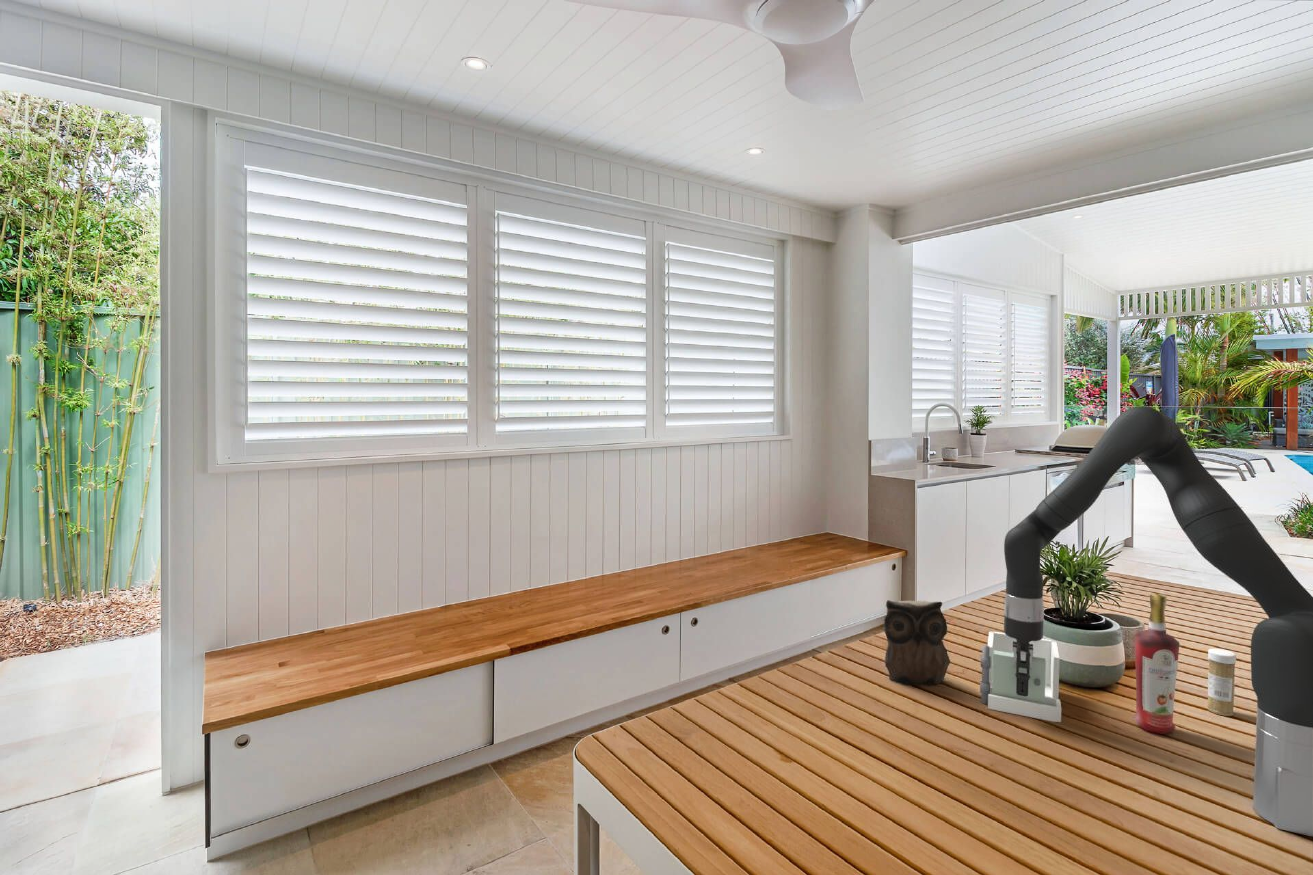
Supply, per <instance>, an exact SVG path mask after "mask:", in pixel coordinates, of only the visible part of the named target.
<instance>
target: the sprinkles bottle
mask: <svg viewBox="0 0 1313 875" xmlns="http://www.w3.org/2000/svg"><path fill="white" fill-rule="evenodd" d="M1207 654H1208V656H1207V658H1208V673H1207V674H1208V675H1207V676H1208V677H1207V705H1206V709H1207V710H1208V711H1209V712H1211V713H1213V714H1215V715H1218V716H1223V717H1224V716H1225V717H1232V716H1234V714H1235V712H1234V707H1235V706H1234V703H1235V702H1234V701H1235V675H1236V674H1235V667H1236V663H1237V654H1235V652H1233V651H1230V650H1226V649H1223V648H1222V649H1221V648H1209V649H1208V652H1207Z"/></svg>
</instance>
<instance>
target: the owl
mask: <svg viewBox="0 0 1313 875" xmlns="http://www.w3.org/2000/svg"><path fill="white" fill-rule="evenodd" d="M942 606H943V602H942V601H928V600H927V601H926V600H910V599H909V600H898V601H897V600H896V601H893V600H890V599H888V600H887V601H886V602H885V607H886V614H885V616H884V619H883V621H884V622H883V626H884V628H883V632H884V634H885V637H886V640H887V647H886V651H885V656H884V657H885V658H884V664H885V667H886V669H887V671H888V677H889V678H888V679H889V680H890V681H891V682H893V683H897V684H901V685H905V686H911V685H915V686H916V687H919V686H927V687H933V686H936V685H938V684H942V683H945V676H946V674H947V670H948V668H949V665H950V663H951V659H950V657H949V653H948V649H947V648H946V646H945V644H944V641H943V639H944V638H945V636H946V635H947V634H948V624H947V620H946V618H945V615H944V614H943V612H942V609H941V608H942Z"/></svg>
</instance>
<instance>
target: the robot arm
mask: <svg viewBox="0 0 1313 875" xmlns="http://www.w3.org/2000/svg"><path fill="white" fill-rule="evenodd" d="M1136 457H1138V459H1140V460H1141V462H1142V463H1143V464H1144V465H1145V466H1146V467H1147V468H1148V470H1150V472H1152V474H1153V476H1155V478H1156V479H1157V481H1159V483H1160V484H1161V486H1162V487H1163V490H1164V491H1165V493H1166V497H1167V500H1168V502H1169V505H1170V507H1171V508H1170V509H1171V511H1172V514H1173V516H1174V517H1175V520H1176V522H1177V524H1178V525H1179V526H1180V529H1181V530H1182V531H1183V533H1184V534H1185V535H1186V537H1187V538H1188V540H1189V541H1190V543H1191V544H1192V546H1194V548H1195V549H1196V551H1197V552H1198V553H1199V554H1200V555H1201V556H1202V557H1203V559H1204V560H1206V561H1207V562H1208V563H1210V565H1212V566H1213V567H1214V568H1216V569H1217V570H1218V571H1220V572H1221V573H1223V574H1224V575H1225V576H1227V577H1228V578H1230V579H1231V580H1232V581H1234V582H1235V583H1236V584H1238V586H1240V587H1242V588H1243V589H1244V590H1245V591H1246V592H1247V593H1249V594H1250V595H1251V597H1252V598H1253V599H1254V600H1255V601H1256V602H1257V603H1258V605H1259V606H1260V607H1261V608H1262V610H1263V611H1264V613H1265V614H1266V616H1267V617H1268V618H1265V619H1263V620H1261V621H1259V623H1258V624H1256V625H1255V627H1254V629H1253V630H1252V631H1253V632H1252V634H1251V635H1252V636H1251V640H1250V673H1251V678H1250V680H1251V686H1252V689H1253V692H1254V694H1255V695H1256V701H1257V702H1256V724H1255V743H1254V744H1255V745H1254V746H1255V748H1254V774H1253V776H1254V777H1253V796H1252V798H1253V800H1252V806H1253V807H1252V808H1253V809H1254V811H1255V813H1256V814H1258V815H1259V816H1260V817H1261V818H1263V819H1264V820H1266V821H1268V822H1269V823H1270V824H1272V825H1274V828H1276V829H1278V830H1282V831H1283V830H1284V831H1287V832H1291V833H1296V834H1301V835H1305V836H1309V837H1313V595H1312V594H1311V593H1310V592H1308V590H1307V589H1306V588H1305V587H1304V586H1303V585H1302V583H1301V582H1300V581H1298V579H1297V578H1296V577H1295V575H1294V574H1293V573H1292V571H1290V569H1289V568H1288V567H1287V566H1286V564H1285V563H1284V562H1283V561H1282V559H1281V558H1280V557H1279V555H1278V554H1277V553H1276V552H1275V551H1274V549H1273V548H1272V546H1270V544H1269V543H1268V542H1267V540H1266V539H1265V538H1264V537H1263V536H1262V534H1261V532H1260V531H1259V529H1258V528H1257V527H1256V526H1255V524H1254V523H1253V521H1252V520H1251V519H1250V517H1248V515H1247V514H1246V513H1245V511H1244V510H1243V509H1242V508H1241V506H1240V505H1239V504H1238V503H1237V502H1236V501H1235V500H1234V498H1233V497H1232V496H1231V495H1230V494H1229V493H1228V491H1227V490H1226V488H1224V487H1223V486H1222V485H1221V483H1220V482H1218V480H1216V478H1215V477H1214V476H1213V475H1212V474H1211V473H1209V471H1208V469H1206V468H1205V466H1204V465H1203V464H1202V463H1201V461H1200V460H1199V458H1198V457H1197V454H1196V453H1195V452H1194V451H1193V448H1192V447H1191V445H1190V444H1189V442H1188V441H1187V439H1186V437H1185V435H1184V434H1183V432H1182V430H1181V429H1180V427H1179V425H1178V424H1177V422H1176V421H1175V420H1173V418H1171V417H1170V416H1168V415H1167V414H1165V413H1162V412H1161V411H1159V410H1158V409H1156V408H1153V407H1150V406H1146V405H1145V406H1144V405H1140V406H1138V405H1137V406H1134V407H1130V408H1128V409H1126V410H1124V411H1123V412H1121V413H1120V414H1119V415H1118V417H1116V419H1115V420H1113V422H1112V423H1111V424H1110V426H1109V427H1108V428H1107V430H1106V431H1105V432H1104V433H1103V435H1102V436H1101V438H1100V439H1099V440H1098V442H1097V443H1096V444H1095V445H1094V447H1093V448H1092V449H1091V450H1090V451H1089V452H1088V454H1087V455H1086V456H1085V457H1084V458H1083V460H1082V461H1081V462H1080V463H1079V464H1078V466H1076V467H1075V469H1073V471H1072V472H1071V473H1069V475H1068V476H1067V477H1066V478H1065V479H1064V480H1063V481H1061V483H1060V484H1058V485H1057V486H1056V487H1055V488H1054V489H1053V490H1051V492H1049V494H1048V495H1046V496H1045V497H1044V499H1042V500H1041V501H1040V502H1039V503H1038V505H1037V506H1036V508H1035V509H1034V510H1033V511H1032V512H1030V513H1029V514H1028V515H1027V516H1026V517H1025V518H1024V519H1023V520H1021V521H1020V522H1019V523H1018V524H1016V525H1015V526H1014V527H1013V528H1010V530H1008V532H1007V533H1006V535H1005V537H1004V542H1003V543H1004V544H1003V549H1004V550H1003V552H1004V561H1005V568H1006V581H1005V598H1004V605H1003V606H1004V608H1003V609H1004V610H1003V611H1004V612H1003V633H1005V634H1006V635H1007V636H1009V637H1011V638H1015V639H1016V642H1015V641H1013V654H1014V666H1015V667H1016V673H1015V676H1016V678H1017V681H1016V693H1017V695H1020V696H1028V680H1029V678H1030V676H1029V671H1030V669H1031V668H1032V656H1033V644H1029V642H1030V641H1039V640H1041V639H1044V615H1045V614H1044V613H1045V611H1044V610H1045V609H1044V607H1045V606H1044V596H1043V595H1044V578H1043V577H1044V576H1043V573H1042V572H1041V553H1042V552H1041V551H1043V549H1045V548H1046V547H1047V546H1048V545H1049V544H1050V543H1051V542H1052V541H1053V540H1054V539H1055V538H1056V537H1057V536H1058V535H1059V534H1060V532H1062V531H1063V530H1065V529H1067V528H1068V527H1069V526H1071V525H1072V524H1073V523H1074V522H1076V520H1078V519H1079V518H1080V517H1082V515H1084V514H1085V513H1086V512H1087V511H1088V509H1090V508H1091V507H1092V506H1093V505H1094V503H1095V502H1097V500H1098V498H1099V496H1100V495H1101V493H1102V492H1103V491H1104V488H1105V487H1106V486H1107V484H1108V482H1110V480H1111V479H1112V477H1113V476H1115V474H1116V473H1117V472H1118V471H1119V470H1120V469H1121V468H1123V466H1124V465H1126V464H1127V463H1129V462H1130V461H1132V460H1133V459H1135V458H1136ZM1016 657H1017V660H1016ZM1019 668H1025V669H1026V670H1027V674H1026V673H1020V672H1019Z"/></svg>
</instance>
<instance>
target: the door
mask: <svg viewBox="0 0 1313 875" xmlns="http://www.w3.org/2000/svg"><path fill="white" fill-rule="evenodd" d="M1016 660H1017V657H1016ZM1045 670H1046V661H1045V658H1039V657H1033V656H1032V668H1031V669H1030V671H1029V676H1030V678H1029V680H1028V696H1020V695H1017V693H1016V681H1017V678H1016V676H1015V673H1016V667H1015V666H1014V654H1013V653H1008V652H1002V651H996V650H994V652H993V692H992V695H996V696H1002V697H1007V698H1012V699H1017V700H1023V701H1028V702H1033V703H1039V704H1044V705H1045ZM1019 672H1020V673H1026V674H1027V670H1026V669H1025V668H1019Z"/></svg>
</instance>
